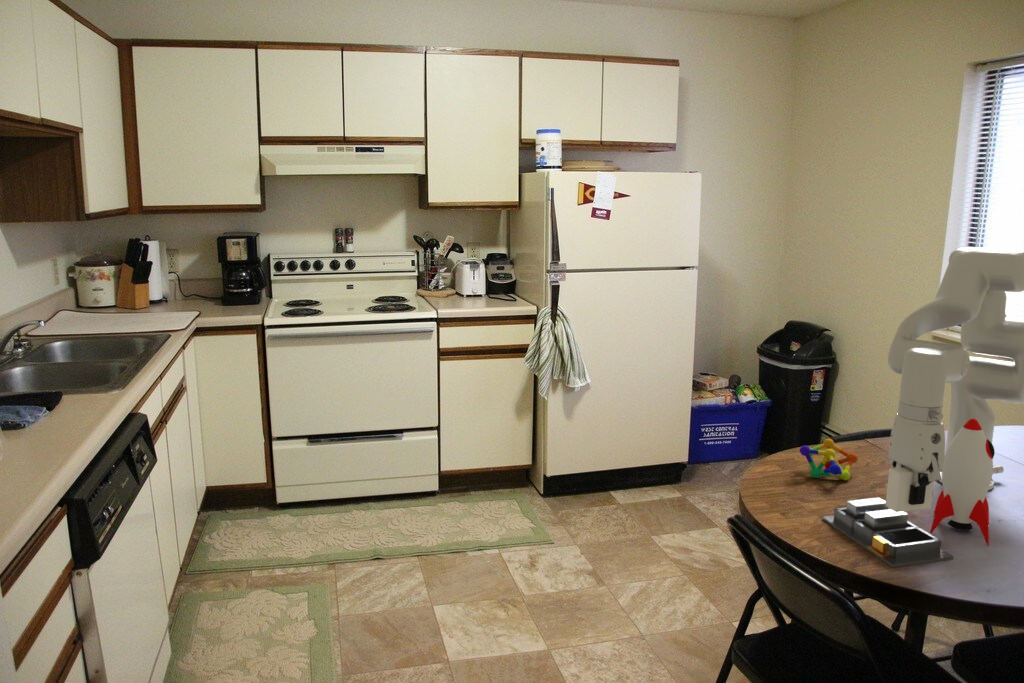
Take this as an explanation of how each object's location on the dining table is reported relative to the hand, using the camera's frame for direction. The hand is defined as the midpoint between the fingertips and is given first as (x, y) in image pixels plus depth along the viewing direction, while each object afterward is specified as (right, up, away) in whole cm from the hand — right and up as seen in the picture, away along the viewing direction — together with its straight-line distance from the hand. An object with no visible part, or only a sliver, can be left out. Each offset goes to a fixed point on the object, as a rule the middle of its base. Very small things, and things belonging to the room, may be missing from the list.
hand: (909, 499), depth 150 cm
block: (0, -2, 0) cm, 2 cm away
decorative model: (+1, -3, +42) cm, 42 cm away
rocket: (+17, -9, +12) cm, 23 cm away
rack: (-1, -10, +8) cm, 13 cm away
